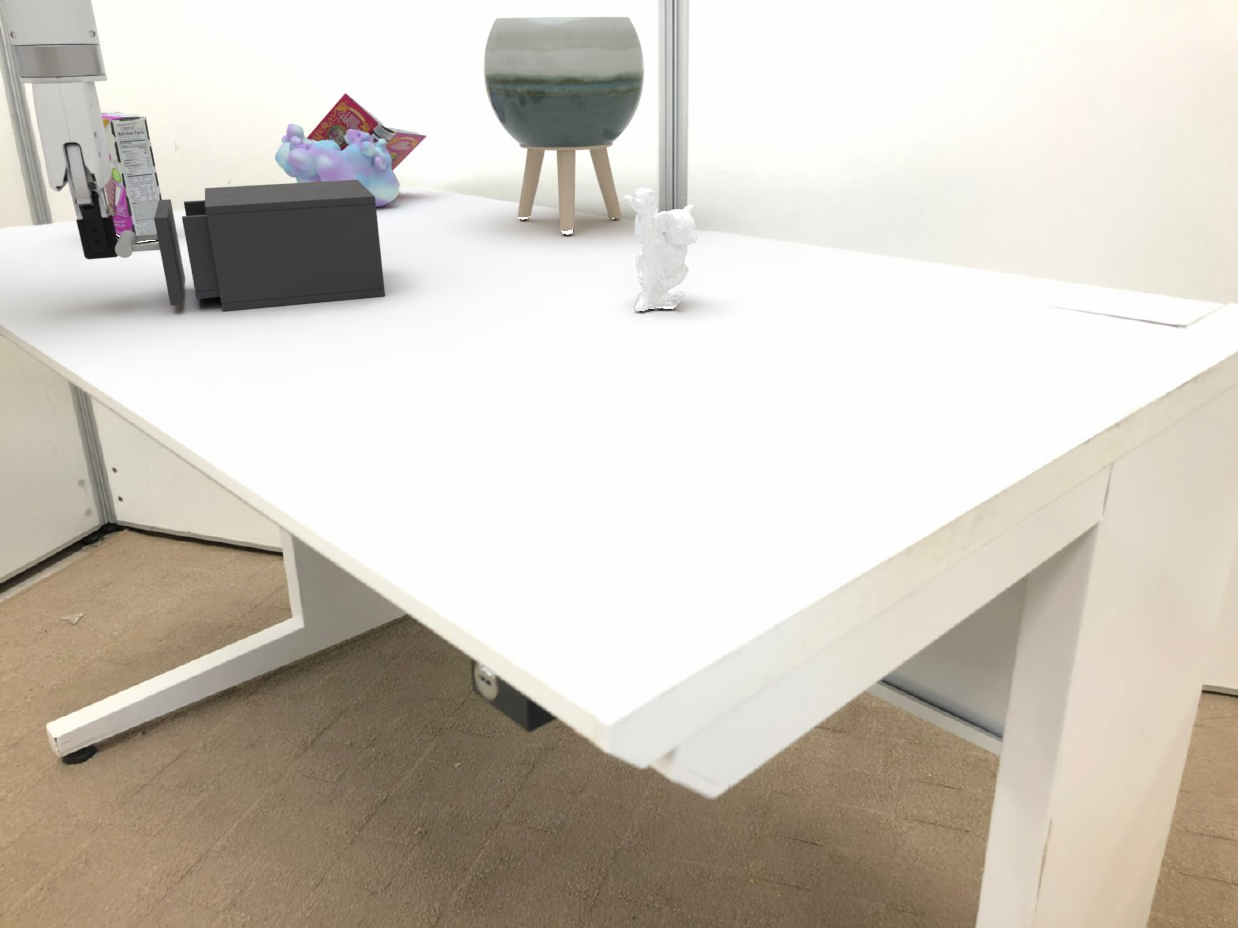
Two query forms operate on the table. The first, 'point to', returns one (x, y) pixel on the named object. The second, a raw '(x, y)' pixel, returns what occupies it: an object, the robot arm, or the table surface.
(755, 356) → the table surface
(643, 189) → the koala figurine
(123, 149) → the candy bar box
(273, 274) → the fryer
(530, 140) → the planter
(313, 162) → the pastel bubbly blob
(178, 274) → the drawer
